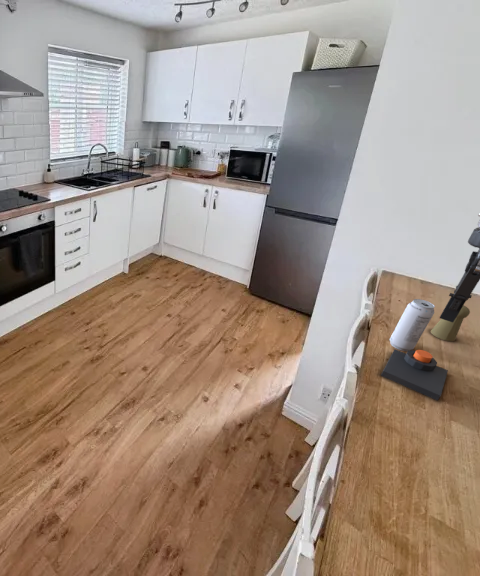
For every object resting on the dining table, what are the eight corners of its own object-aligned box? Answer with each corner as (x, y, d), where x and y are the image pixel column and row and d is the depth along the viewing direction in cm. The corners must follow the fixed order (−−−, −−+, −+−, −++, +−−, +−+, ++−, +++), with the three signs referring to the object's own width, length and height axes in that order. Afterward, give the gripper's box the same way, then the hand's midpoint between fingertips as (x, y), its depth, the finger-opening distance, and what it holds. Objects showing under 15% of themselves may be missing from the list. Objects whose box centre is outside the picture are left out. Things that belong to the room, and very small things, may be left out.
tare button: (414, 353, 102) (417, 348, 101) (430, 359, 100) (433, 354, 99) (412, 358, 100) (414, 353, 99) (428, 365, 98) (431, 360, 97)
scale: (392, 352, 107) (397, 342, 106) (445, 373, 100) (451, 363, 98) (380, 375, 98) (386, 365, 96) (437, 400, 91) (444, 390, 89)
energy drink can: (402, 340, 113) (425, 298, 106) (417, 352, 108) (443, 309, 100) (383, 339, 113) (405, 297, 105) (398, 352, 107) (422, 308, 100)
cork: (432, 327, 120) (449, 298, 115) (456, 336, 116) (475, 306, 111) (428, 334, 116) (446, 305, 111) (453, 343, 112) (472, 313, 107)
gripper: (477, 221, 89) (431, 304, 100) (473, 233, 81) (424, 322, 92) (521, 229, 84) (468, 316, 95) (521, 242, 76) (463, 335, 87)
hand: (446, 319), depth 94 cm, fingers closed
